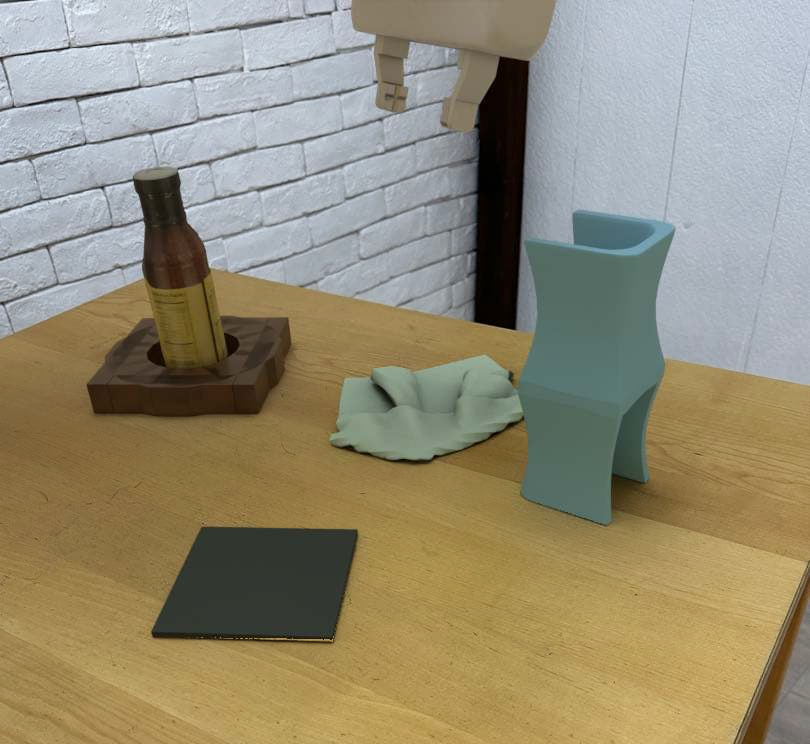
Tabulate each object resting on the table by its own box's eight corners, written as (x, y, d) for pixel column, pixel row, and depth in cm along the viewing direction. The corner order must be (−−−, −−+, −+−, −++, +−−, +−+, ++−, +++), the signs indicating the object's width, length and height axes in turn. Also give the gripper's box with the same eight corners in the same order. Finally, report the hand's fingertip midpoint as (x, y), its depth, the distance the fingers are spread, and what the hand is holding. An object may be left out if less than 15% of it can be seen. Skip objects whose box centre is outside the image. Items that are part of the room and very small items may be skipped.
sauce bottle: (200, 357, 95) (162, 158, 84) (243, 370, 92) (210, 165, 80) (153, 381, 91) (106, 174, 79) (196, 396, 88) (154, 183, 76)
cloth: (306, 459, 77) (303, 435, 76) (357, 352, 94) (356, 330, 93) (549, 470, 74) (550, 444, 72) (555, 357, 91) (557, 335, 90)
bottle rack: (85, 415, 85) (77, 386, 84) (144, 342, 99) (138, 315, 97) (262, 416, 84) (258, 387, 82) (297, 341, 97) (294, 314, 96)
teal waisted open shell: (561, 452, 76) (577, 208, 64) (649, 478, 72) (684, 223, 61) (514, 495, 71) (522, 239, 59) (607, 526, 67) (635, 258, 55)
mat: (152, 637, 59) (150, 631, 59) (202, 531, 69) (201, 526, 69) (332, 642, 58) (332, 636, 58) (358, 534, 68) (357, 528, 67)
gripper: (345, -126, 62) (318, 94, 69) (510, -150, 47) (456, 136, 53) (423, -102, 65) (391, 107, 72) (602, -117, 50) (541, 150, 57)
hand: (420, 120), depth 62 cm, fingers open, 8 cm apart
